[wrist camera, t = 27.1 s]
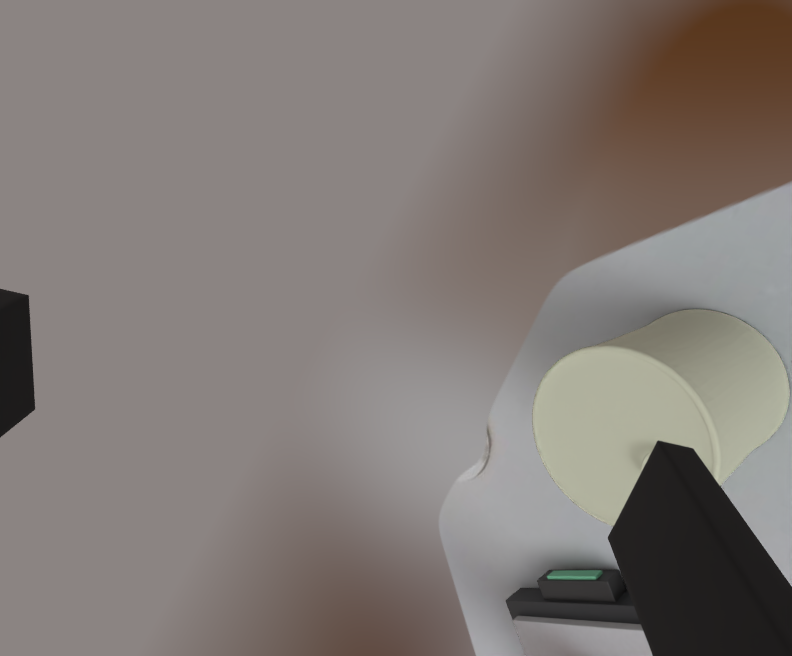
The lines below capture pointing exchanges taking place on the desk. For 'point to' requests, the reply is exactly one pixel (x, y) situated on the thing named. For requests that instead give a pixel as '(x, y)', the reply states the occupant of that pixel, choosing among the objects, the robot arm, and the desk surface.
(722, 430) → the can
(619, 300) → the desk surface
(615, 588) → the scale
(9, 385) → the robot arm
